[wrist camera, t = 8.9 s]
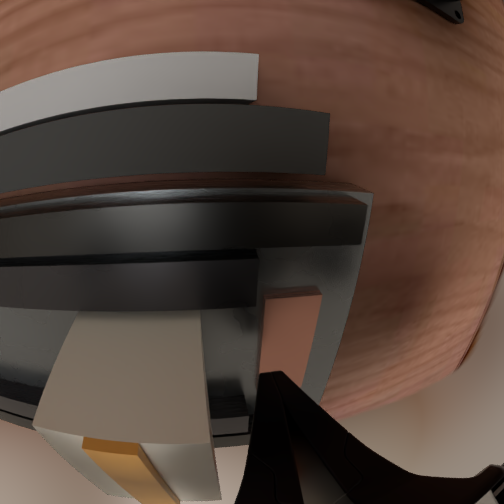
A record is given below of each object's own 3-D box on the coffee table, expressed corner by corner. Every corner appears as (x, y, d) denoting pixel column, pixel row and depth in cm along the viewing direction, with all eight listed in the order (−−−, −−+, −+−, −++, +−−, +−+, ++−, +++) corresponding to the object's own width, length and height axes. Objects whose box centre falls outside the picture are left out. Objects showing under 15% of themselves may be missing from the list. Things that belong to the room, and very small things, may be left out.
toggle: (199, 299, 9) (212, 455, 4) (207, 394, 11) (223, 507, 6) (84, 301, 8) (28, 435, 3) (119, 394, 10) (107, 501, 5)
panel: (351, 183, 10) (395, 203, 7) (306, 395, 15) (321, 431, 12) (-91, 222, 5) (-117, 240, 3) (-27, 378, 10) (-39, 403, 8)
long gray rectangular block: (308, 71, 8) (331, 61, 6) (303, 166, 9) (325, 175, 8) (-87, 150, 4) (-107, 157, 3) (-82, 210, 6) (-101, 222, 4)
